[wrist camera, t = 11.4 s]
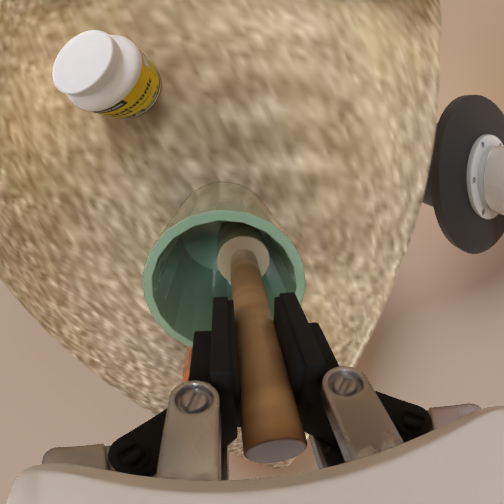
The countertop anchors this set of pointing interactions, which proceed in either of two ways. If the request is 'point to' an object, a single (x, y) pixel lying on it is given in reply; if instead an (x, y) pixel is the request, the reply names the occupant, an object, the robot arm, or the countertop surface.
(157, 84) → the supplement bottle
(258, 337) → the brush
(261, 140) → the countertop surface
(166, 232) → the tumbler
